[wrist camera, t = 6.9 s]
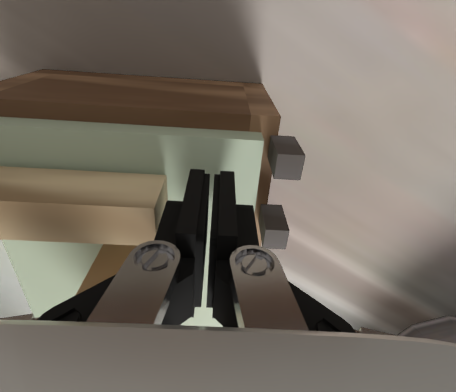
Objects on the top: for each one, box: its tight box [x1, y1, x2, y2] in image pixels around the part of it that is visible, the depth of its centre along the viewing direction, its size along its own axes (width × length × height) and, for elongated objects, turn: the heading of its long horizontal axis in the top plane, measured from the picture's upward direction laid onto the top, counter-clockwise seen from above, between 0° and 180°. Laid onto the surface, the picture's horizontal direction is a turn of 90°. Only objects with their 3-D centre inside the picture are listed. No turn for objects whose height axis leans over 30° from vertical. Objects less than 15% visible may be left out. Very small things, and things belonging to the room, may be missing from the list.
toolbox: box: [0, 69, 305, 249], centre depth 18 cm, size 18×14×9 cm
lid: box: [0, 117, 264, 327], centre depth 13 cm, size 17×12×8 cm
